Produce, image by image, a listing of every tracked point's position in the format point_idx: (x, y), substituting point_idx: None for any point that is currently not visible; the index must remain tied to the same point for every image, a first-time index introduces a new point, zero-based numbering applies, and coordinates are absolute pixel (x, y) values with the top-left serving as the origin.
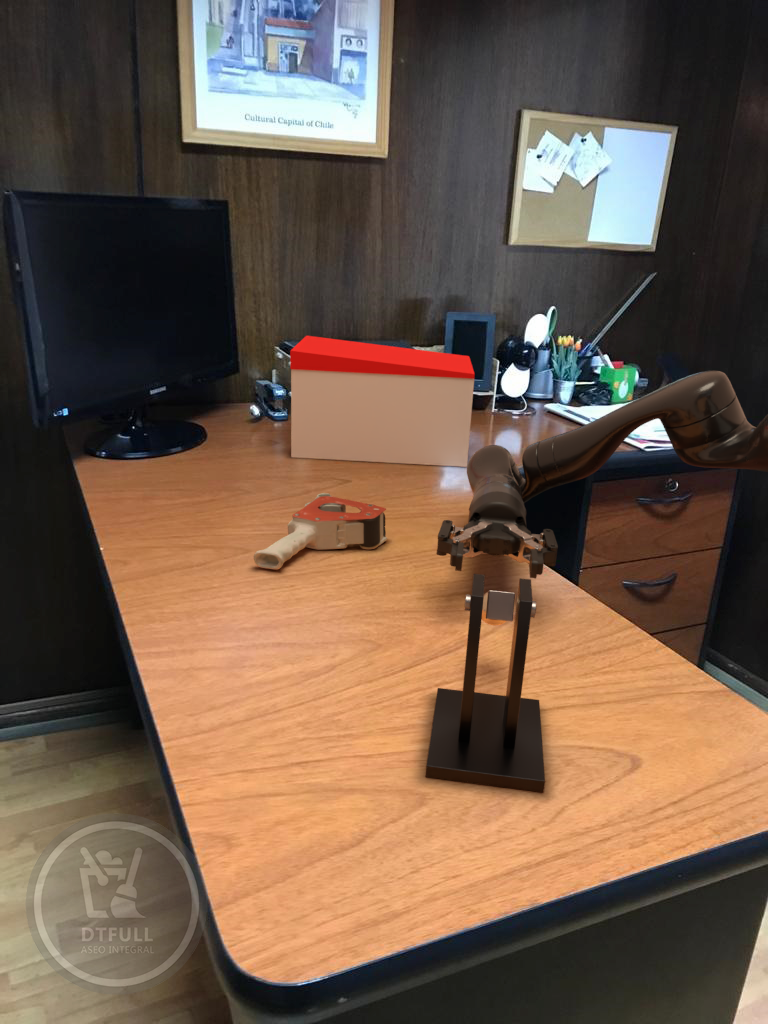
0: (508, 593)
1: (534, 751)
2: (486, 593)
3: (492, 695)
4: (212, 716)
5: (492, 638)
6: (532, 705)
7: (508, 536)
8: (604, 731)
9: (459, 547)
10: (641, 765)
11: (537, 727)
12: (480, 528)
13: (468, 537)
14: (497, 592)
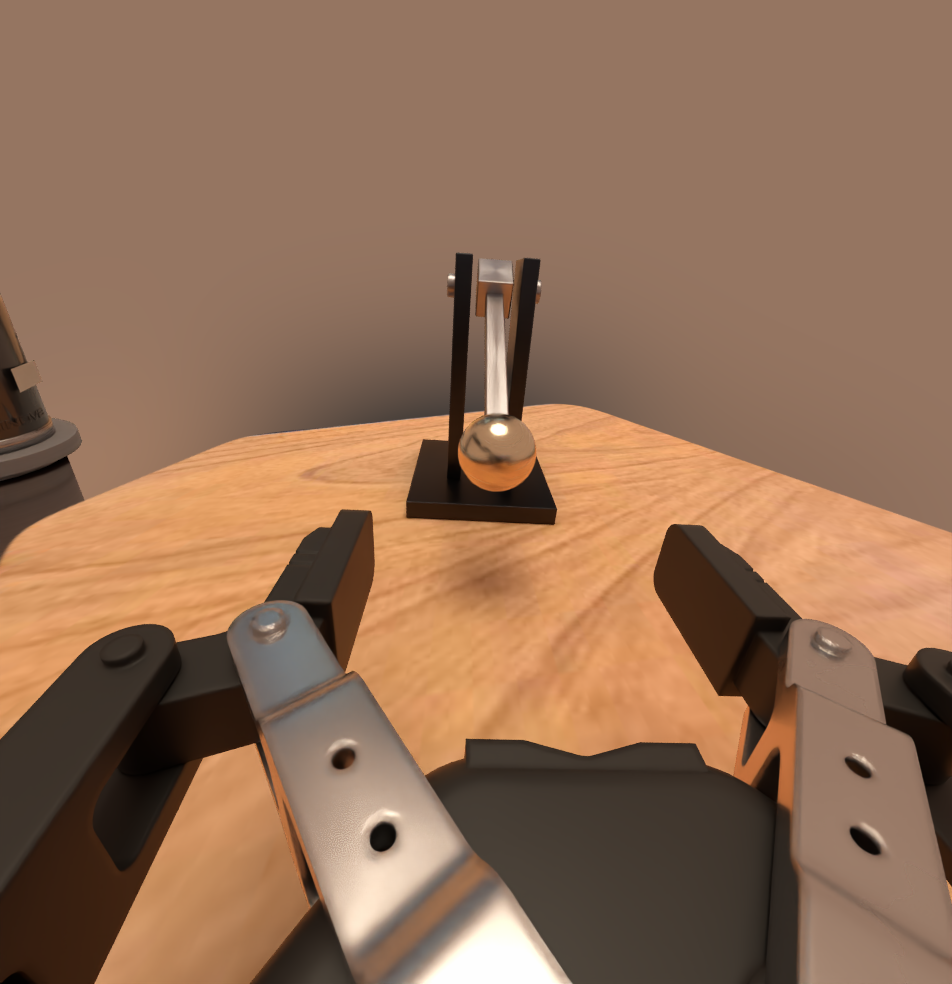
0: (486, 260)
1: (427, 455)
2: (522, 423)
3: (475, 503)
4: (777, 491)
5: (482, 693)
6: (418, 494)
7: (485, 803)
8: (322, 498)
9: (732, 566)
10: (304, 470)
11: (418, 473)
12: (819, 809)
13: (789, 678)
14: (500, 261)
